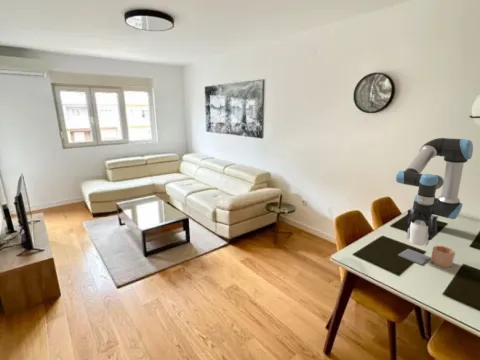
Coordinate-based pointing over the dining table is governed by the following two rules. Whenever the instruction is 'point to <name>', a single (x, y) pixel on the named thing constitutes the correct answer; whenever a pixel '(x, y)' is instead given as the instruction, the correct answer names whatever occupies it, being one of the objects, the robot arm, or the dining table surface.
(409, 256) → the mat
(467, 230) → the dining table surface
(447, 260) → the pot
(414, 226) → the cup
